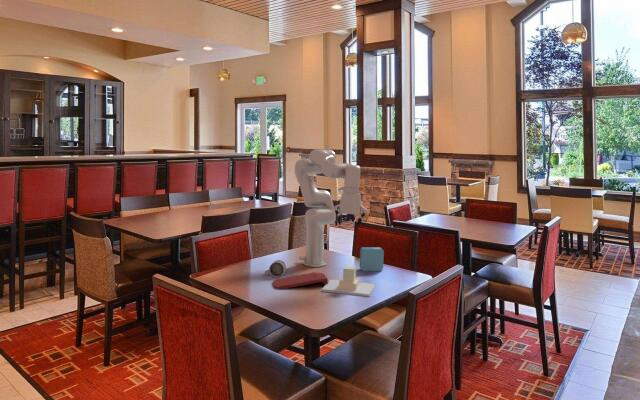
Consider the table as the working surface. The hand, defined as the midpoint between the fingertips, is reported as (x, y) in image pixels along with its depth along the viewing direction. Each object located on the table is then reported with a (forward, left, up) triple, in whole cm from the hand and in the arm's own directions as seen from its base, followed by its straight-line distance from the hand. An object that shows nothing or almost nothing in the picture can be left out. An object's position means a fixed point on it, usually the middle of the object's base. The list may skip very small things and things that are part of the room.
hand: (349, 224), depth 228 cm
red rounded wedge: (-19, -17, -28) cm, 38 cm away
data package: (+8, +21, -28) cm, 36 cm away
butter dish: (+4, -16, -27) cm, 32 cm away
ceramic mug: (-36, -6, -28) cm, 46 cm away
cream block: (+4, -15, -23) cm, 28 cm away
